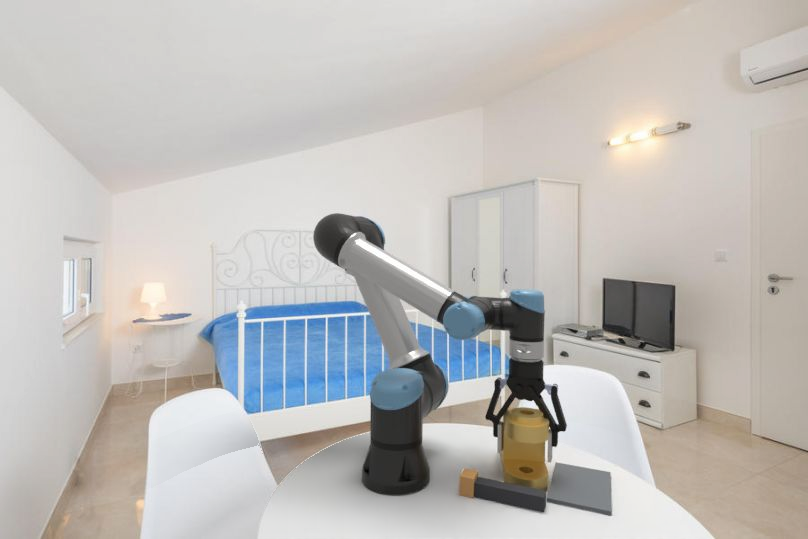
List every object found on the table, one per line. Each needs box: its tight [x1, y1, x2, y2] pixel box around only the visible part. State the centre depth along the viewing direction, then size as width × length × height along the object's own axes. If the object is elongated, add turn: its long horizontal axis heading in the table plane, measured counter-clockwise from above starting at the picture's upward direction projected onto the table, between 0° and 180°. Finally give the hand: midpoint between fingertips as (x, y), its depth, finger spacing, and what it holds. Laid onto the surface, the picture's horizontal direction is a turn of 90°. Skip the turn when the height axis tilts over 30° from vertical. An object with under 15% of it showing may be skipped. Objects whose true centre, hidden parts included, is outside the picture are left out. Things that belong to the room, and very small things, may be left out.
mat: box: [546, 461, 612, 516], centre depth 99 cm, size 12×18×1 cm, turn 156°
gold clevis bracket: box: [500, 406, 550, 493], centre depth 105 cm, size 20×9×16 cm, turn 171°
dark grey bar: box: [458, 468, 547, 514], centre depth 94 cm, size 17×4×4 cm, turn 66°
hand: (524, 455), depth 104 cm, fingers closed on gold clevis bracket, 10 cm apart
